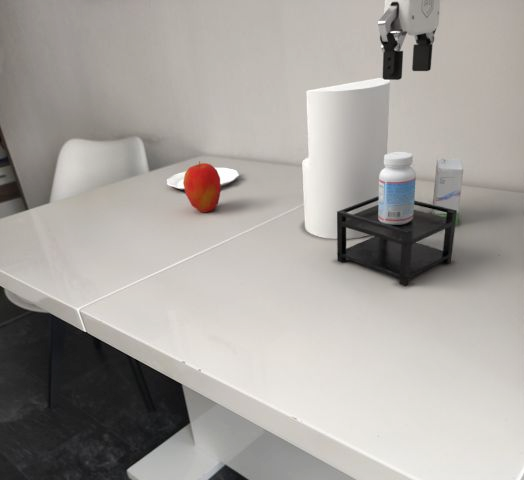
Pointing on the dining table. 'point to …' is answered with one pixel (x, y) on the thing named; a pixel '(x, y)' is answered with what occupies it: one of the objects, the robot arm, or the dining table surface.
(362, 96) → the cylinder
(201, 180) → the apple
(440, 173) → the ink box
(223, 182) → the plate
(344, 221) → the rack
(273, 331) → the dining table surface
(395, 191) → the pill bottle
